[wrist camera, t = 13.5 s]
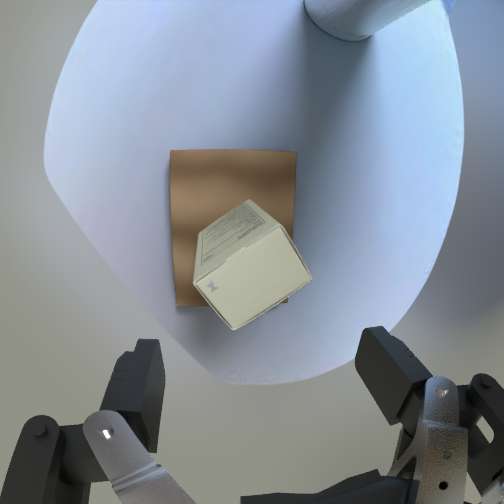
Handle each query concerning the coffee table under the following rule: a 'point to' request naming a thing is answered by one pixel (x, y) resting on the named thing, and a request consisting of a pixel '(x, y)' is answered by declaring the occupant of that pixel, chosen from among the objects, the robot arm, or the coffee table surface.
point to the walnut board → (222, 199)
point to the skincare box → (247, 264)
